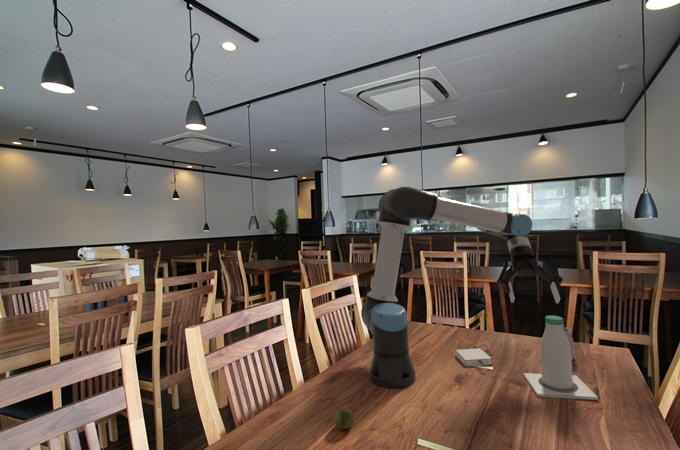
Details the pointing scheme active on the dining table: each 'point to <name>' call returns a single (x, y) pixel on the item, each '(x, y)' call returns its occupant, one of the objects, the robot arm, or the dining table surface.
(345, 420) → the lime
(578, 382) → the pad
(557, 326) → the milk bottle
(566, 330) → the mug
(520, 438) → the dining table surface
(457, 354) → the white block with labels
